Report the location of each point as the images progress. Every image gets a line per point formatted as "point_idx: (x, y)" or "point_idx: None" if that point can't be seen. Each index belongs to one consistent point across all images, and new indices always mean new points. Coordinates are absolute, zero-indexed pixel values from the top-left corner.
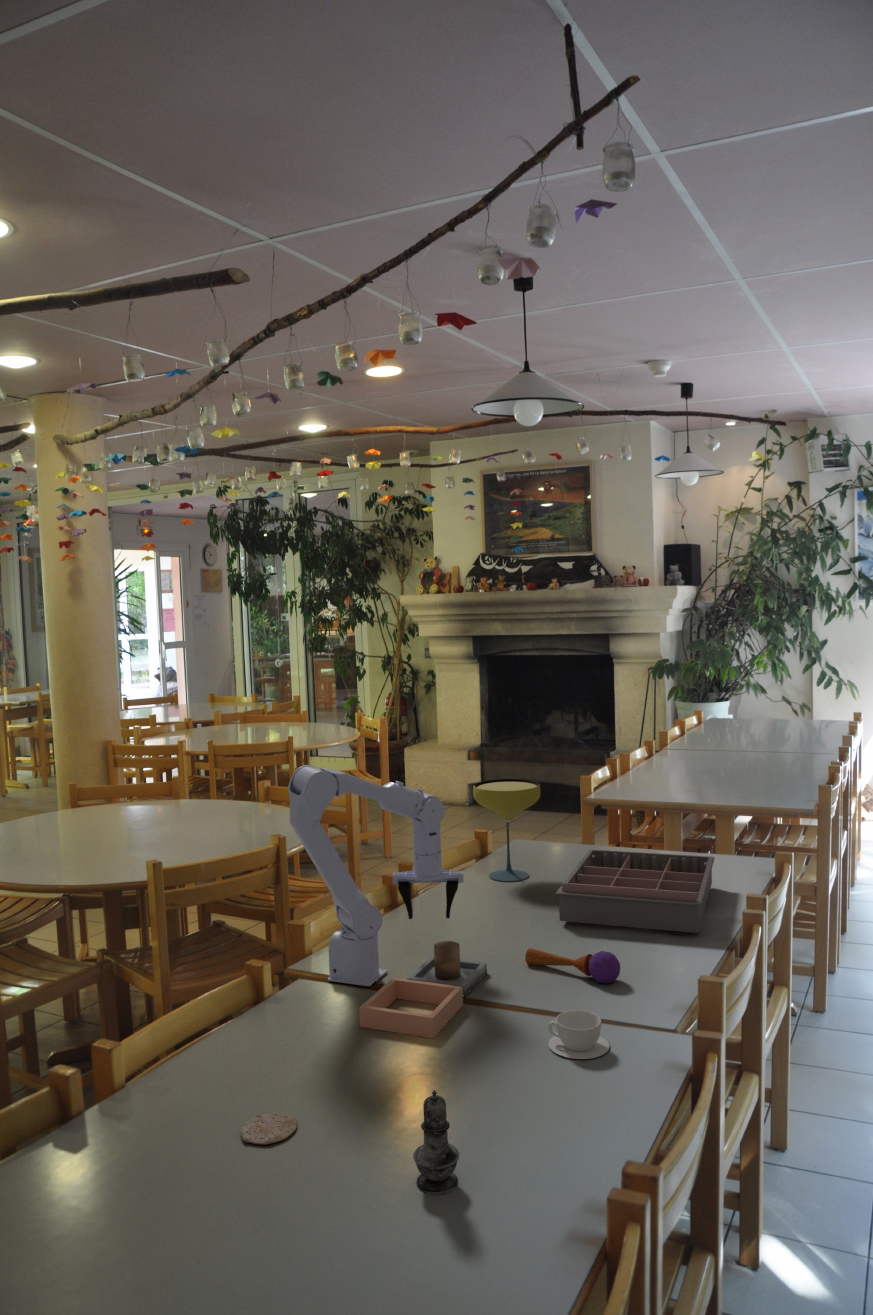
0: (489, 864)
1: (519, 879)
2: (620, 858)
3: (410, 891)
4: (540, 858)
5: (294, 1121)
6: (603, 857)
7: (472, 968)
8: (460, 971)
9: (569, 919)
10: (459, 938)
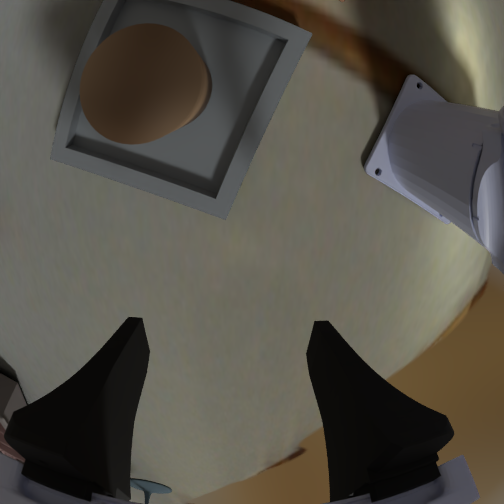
0: (178, 499)
1: (132, 480)
2: None
3: (350, 448)
4: None
5: None
6: None
7: (93, 149)
8: None
9: (3, 378)
10: (168, 368)
